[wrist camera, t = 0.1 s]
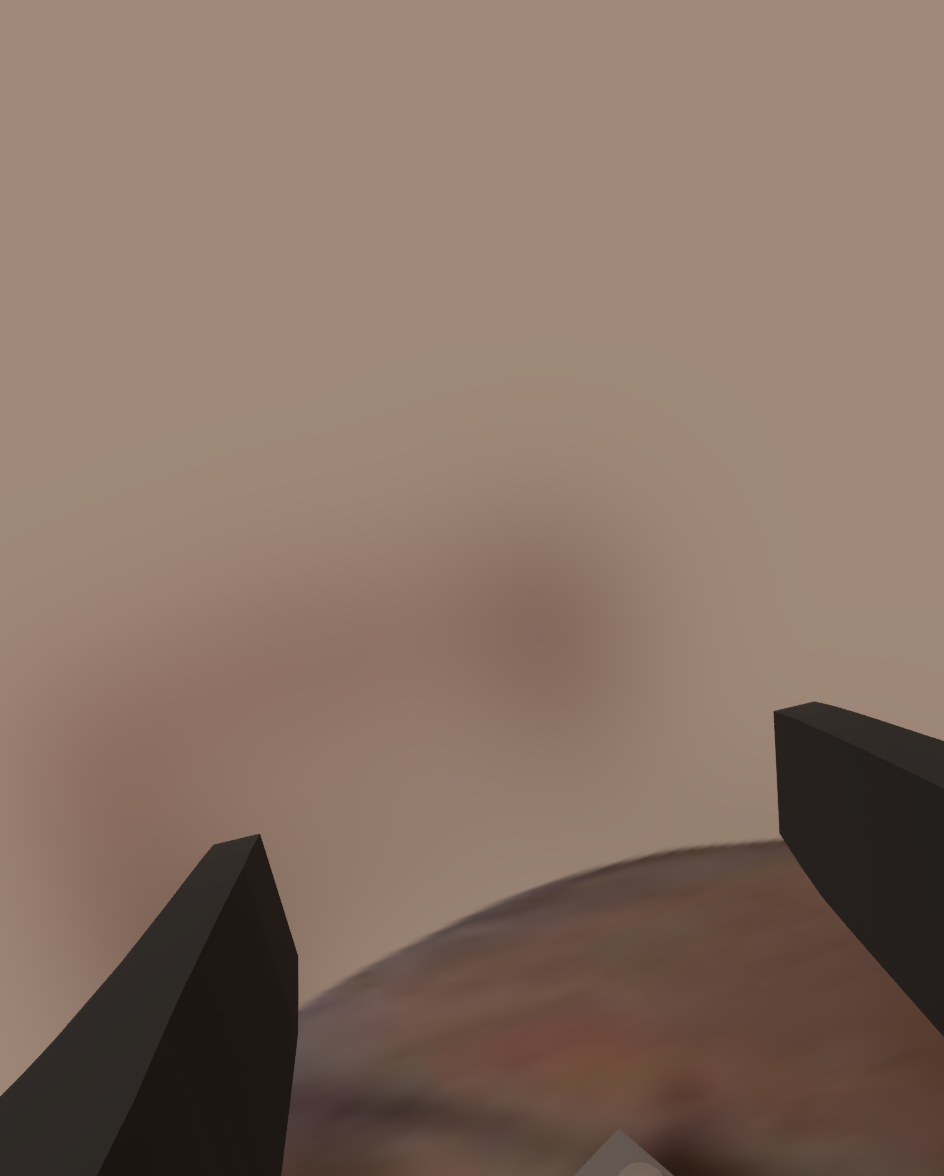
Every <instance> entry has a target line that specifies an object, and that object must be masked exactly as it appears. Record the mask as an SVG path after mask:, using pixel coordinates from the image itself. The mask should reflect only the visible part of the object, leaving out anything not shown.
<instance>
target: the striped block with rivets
mask: <svg viewBox="0 0 944 1176" xmlns="http://www.w3.org/2000/svg"><path fill="white" fill-rule="evenodd" d="M574 1176H673V1175H672V1174H671V1173H670V1172H669V1171H668V1170H667V1169H665V1168H664V1167H663V1166H662V1165H661V1164H660V1163H658V1162H657V1161H656V1160H655V1159H654V1158H653V1157H652V1156H650V1155H649V1154H648V1153H647V1152H646V1151H645V1150H643V1149H642V1148H641V1147H640V1146H639V1145H638V1144H636V1143H635V1142H634V1141H633V1140H632V1139H631V1138H630V1137H628V1136H627V1135H626V1134H625V1133H624V1132H623V1131H621V1130H620V1129H618V1130H617V1131H616V1132H615V1133H614V1134H613V1135H612V1136H611V1137H610V1138H609V1140H608V1141H607V1142H606V1143H605V1144H604V1145H603V1146H602V1147H601V1148H600V1149H599V1150H598V1151H597V1152H596V1153H595V1154H594V1155H593V1156H592V1157H591V1158H590V1159H589V1160H588V1161H587V1162H586V1164H585V1165H584V1166H583V1167H582V1168H581V1169H580V1170H579V1171H578V1172H577V1173H576V1174H575V1175H574Z"/></svg>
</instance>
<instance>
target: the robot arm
mask: <svg viewBox="0 0 944 1176" xmlns="http://www.w3.org/2000/svg"><path fill="white" fill-rule="evenodd" d="M774 729H775V747H776V748H775V749H776V769H777V789H778V808H779V809H778V810H779V831H780V835H781V836H782V838H783V839H784V841H785V842H786V844H787V845H788V847H789V849H790V850H791V852H792V853H793V855H794V856H795V858H796V859H797V861H798V863H799V864H800V866H801V867H802V869H803V870H804V871H805V873H806V874H807V876H808V877H809V879H810V880H811V882H812V883H813V884H814V886H815V887H816V889H817V890H818V892H819V893H820V895H821V896H822V897H823V898H824V900H825V901H826V902H827V903H828V904H829V905H830V907H831V908H832V909H833V910H834V911H835V913H836V914H837V915H838V916H839V917H840V918H841V920H842V921H843V922H844V923H845V924H846V925H847V927H848V928H849V929H850V930H851V931H852V932H853V934H854V935H855V936H856V937H857V938H858V939H859V940H860V942H861V943H862V944H863V945H864V946H865V947H866V949H867V950H868V951H869V952H870V953H871V954H872V955H873V957H874V958H875V959H876V960H877V961H878V962H879V963H880V965H881V966H882V967H883V968H884V969H885V970H886V971H887V973H888V974H889V975H890V976H891V977H892V978H893V979H894V980H895V982H896V983H897V984H898V985H899V986H900V987H901V988H902V990H903V991H904V992H905V993H906V994H907V995H908V996H909V998H910V999H911V1000H912V1001H913V1002H914V1003H915V1004H916V1006H917V1007H918V1008H919V1009H920V1010H921V1011H922V1012H923V1014H924V1015H925V1016H926V1017H927V1018H928V1019H929V1020H930V1022H931V1023H932V1024H933V1025H934V1026H935V1027H936V1028H937V1030H938V1031H939V1032H940V1033H941V1034H942V1035H943V1036H944V741H942V740H939V739H936V738H932V737H929V736H926V735H923V734H920V733H917V732H914V731H911V730H908V729H905V728H902V727H899V726H896V725H893V724H889V723H887V722H884V721H881V720H878V719H874V718H871V717H868V716H865V715H862V714H859V713H855V712H852V711H849V710H845V709H842V708H839V707H835V706H831V705H827V704H823V703H819V702H811V703H806V704H802V705H798V706H794V707H789V708H785V709H781V710H777V711H774ZM297 1037H298V954H297V951H296V948H295V945H294V941H293V938H292V935H291V932H290V929H289V926H288V922H287V919H286V916H285V913H284V909H283V906H282V903H281V900H280V897H279V894H278V890H277V887H276V884H275V881H274V877H273V874H272V871H271V868H270V864H269V861H268V858H267V855H266V852H265V849H264V845H263V842H262V839H261V836H260V834H257V835H253V836H249V837H244V838H240V839H236V840H232V841H228V842H223V843H219V844H215V845H213V846H212V847H211V849H210V850H209V851H208V852H207V853H206V854H205V856H204V857H203V858H202V859H201V861H200V862H199V863H198V865H197V866H196V867H195V868H194V870H193V871H192V872H191V874H190V875H189V876H188V878H187V879H186V880H185V881H184V883H183V884H182V885H181V887H180V888H179V889H178V891H177V892H176V893H175V895H174V896H173V897H172V898H171V900H170V901H169V902H168V904H167V905H166V906H165V908H164V909H163V910H162V912H161V913H160V914H159V915H158V916H157V918H156V919H155V920H154V922H153V923H152V924H151V925H150V927H149V928H148V929H147V931H146V932H145V933H144V934H143V935H142V937H141V938H140V939H139V941H138V942H137V943H136V944H135V946H134V947H133V948H132V949H131V951H130V952H129V953H128V954H127V956H126V957H125V958H124V959H123V961H122V962H121V963H120V964H119V966H118V967H117V968H116V969H115V970H114V971H113V973H112V974H111V975H110V976H109V977H108V979H107V980H106V981H105V982H104V983H103V984H102V985H101V987H100V988H99V989H98V990H97V991H96V992H95V993H94V995H93V996H92V997H91V998H90V999H89V1001H88V1002H87V1003H86V1004H85V1005H84V1006H83V1007H82V1009H81V1010H80V1011H79V1012H78V1013H77V1014H76V1016H75V1017H74V1018H73V1019H72V1020H71V1021H70V1023H69V1024H68V1025H67V1026H66V1027H65V1028H64V1029H63V1031H62V1032H61V1033H60V1034H59V1035H58V1036H57V1038H56V1039H55V1040H54V1041H53V1042H52V1043H51V1044H50V1045H49V1046H48V1047H47V1049H46V1050H45V1051H44V1052H43V1053H42V1054H41V1055H40V1056H39V1057H38V1058H37V1059H36V1060H35V1061H34V1062H33V1063H32V1065H31V1066H30V1067H29V1068H28V1069H27V1070H26V1071H25V1072H24V1073H23V1074H22V1075H21V1076H20V1077H19V1078H18V1079H17V1080H16V1081H15V1082H14V1083H13V1084H12V1085H11V1086H10V1087H9V1088H8V1089H7V1090H6V1091H5V1092H4V1093H3V1094H2V1095H1V1096H0V1176H281V1171H282V1163H283V1155H284V1147H285V1139H286V1131H287V1122H288V1114H289V1106H290V1098H291V1089H292V1081H293V1072H294V1064H295V1055H296V1046H297Z"/></svg>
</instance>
